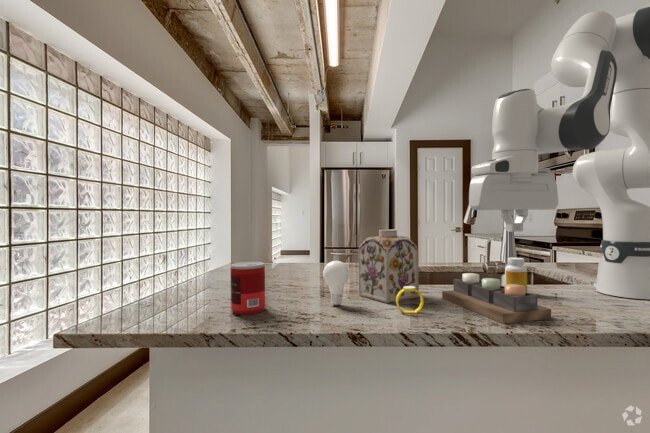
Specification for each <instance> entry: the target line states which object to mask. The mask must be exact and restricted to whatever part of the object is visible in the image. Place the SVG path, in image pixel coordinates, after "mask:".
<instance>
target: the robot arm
mask: <svg viewBox="0 0 650 433" xmlns="http://www.w3.org/2000/svg"><path fill="white" fill-rule="evenodd" d="M554 51H555V52H554V53H553V55H552V59H551V62H550V69H551V73H552V74H553V77H554V78H555V79H556V80H557V81H559V83H560V84H563V85H565V86H568V87H572V88H583V87H584V89H583V94H582V96H581V97H580V98H579V97H578V99H576V100H574V101H572V102H569V103H566V104H563V105H562V104H561V105H558V106H553V107H549V108H543V107H542V106H540V105H539V104H538V102H537V96H536V92H535V90H534V89H532V88H522V89H521V88H520V89H517V90H513V91H512V90H511V91H510V92H506V93H503V94H501V95H499V96H497V98H496V99H495V102H494V106H493V112H492V118H491V119H492V122H491V132H492V133H491V135H492V136H491V137H492V138H493V149H492V151H491V159H490V160H487V161H484V162H482V163H478V164H475V165H473V166H472V167H471V170H470V172H471V175H472V178H471V180H470V183H469V190H468V204H469V207H470V208H471V210H472V211H500V215H501V218H502V219H503V221H504V223H505V231H506V232H509V233H510V232H512V233H513V232H516V233H517V232H524V223H525V222H526V219H527V218H528V216H529V211H530V210H531V211H533V210H539V211H541V210H543V211H544V210H547V211H548V210H556V209H557V208H558V206H559V194H558V187H557V186H558V185H557V181H556V179H555V178H556V175H555V173H554V172H553V171H552V170H551V169H550V168H548V167H539V155H544V154H553V153H560V152H567V151H590V150H593V149H595V148H597V147H598V146H599V145H601V143H602V142H603V141H604V140H605V138H606V137H607V136H608V135H609V133H612V134H615V135H618V136H621V137H624V138H628V139H630V141H631V145H630V146H628V147H621V148H613V149H602V150H597V151H593V152H589V153H586V154H582V155H580V156H579V157H577V159H576V160H575V162H574V164H573V167H572V177H573V180H574V182H575V183H576V184H577V186H579V187H580V188H581V189H583V190H585V191H586V192H588V193H589V194H590V195H591V196H592V197H593V199H594V200H595V202H597V205H598V207H599V209H600V210H599V211H600V213H601V218H602V220H601V221H602V240H601V243H600V252H601V253H602V256H601V258H600V259H599V261H598V266H597V267H598V268H597V276H596V282H594V283H593V288H595V291H596V292H598V293H602V294H604V295H609V296H615V297H620V298H627V299H638V300H650V206H648V205H646V204H644V203H642V202H639V201H636V200H634V199H632V198H631V197H630V196H629V194H628V190H630V189H633V190H634V189H650V6H647V7H642V8H640V9H638V10H637V11H635V12H630V13H627V14H625V15H623V16H619V17H617V18H614V17H613V15H612V14H610V13H609V12H605V11H600V10H596V11H591V12H588V13H587V12H586V14H583V15H582V16H581V17H579V18H578V19H577V20H576V21H575V22H574V23H573V24H572V25H571V27H570V28H569V29H568V30H567V32H566V33H565V34H564V36H563V38H562V39H561V41H560V42H559V44H558V45H557V48H556V50H554ZM514 212H515V216H516V217H515V221H514V219H513V216H514Z"/></svg>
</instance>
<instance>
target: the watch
mask: <svg viewBox="0 0 650 433" xmlns="http://www.w3.org/2000/svg"><path fill="white" fill-rule="evenodd" d="M405 291H416V292H417V293H418V294H419V295H418V296H419V297H420V303H419V306H418V307H416V309H414V310H403V309H402V308H401V306H400V304H399V303H400V301H399V297H400V296H401V294H402V293H403V292H405ZM424 303H425V301H424V296H423V294H422V293H421V292H420V290H419V291H418V290H416V287H414V286H404V287H403V289H402V290H400V291H399V293H398V294H397V297H396V302H395V304H396V306H397V308H398V310H399V311H400V312H402V313H403V314H408V315H409V314H418V313H420V311H422V309H423V308H424Z"/></svg>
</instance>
